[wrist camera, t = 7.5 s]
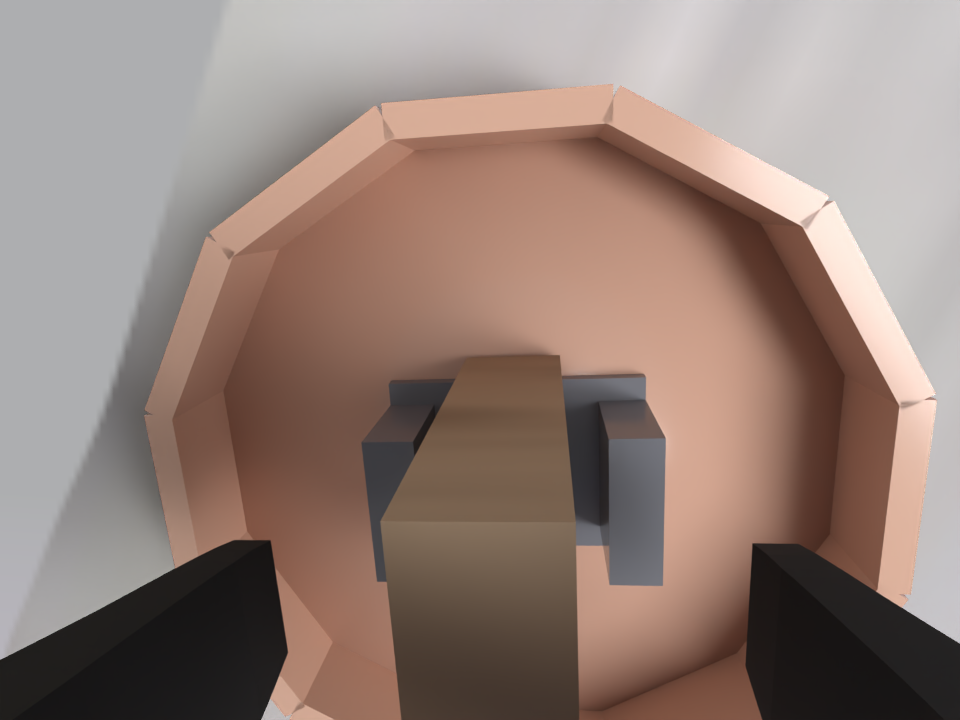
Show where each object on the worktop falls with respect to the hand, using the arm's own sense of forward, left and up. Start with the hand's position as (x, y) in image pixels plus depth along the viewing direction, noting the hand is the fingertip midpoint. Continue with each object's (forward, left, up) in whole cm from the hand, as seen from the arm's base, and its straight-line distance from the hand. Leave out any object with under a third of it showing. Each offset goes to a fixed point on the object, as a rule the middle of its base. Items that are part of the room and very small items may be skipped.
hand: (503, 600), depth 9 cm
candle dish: (0, 0, -6) cm, 6 cm away
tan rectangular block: (0, 0, -5) cm, 5 cm away
